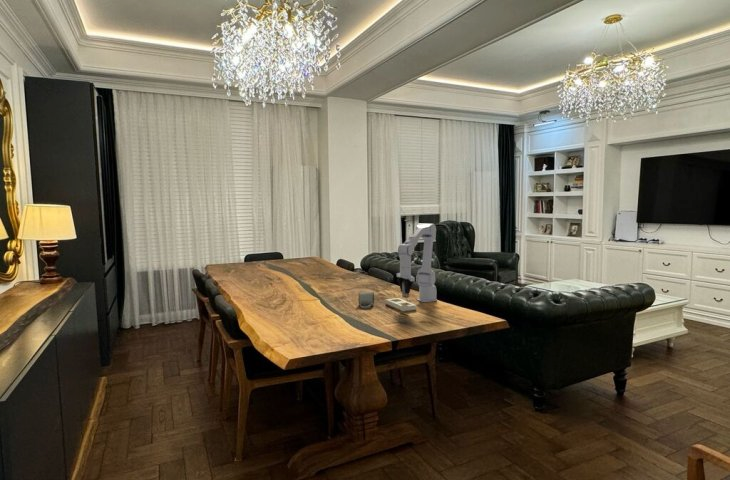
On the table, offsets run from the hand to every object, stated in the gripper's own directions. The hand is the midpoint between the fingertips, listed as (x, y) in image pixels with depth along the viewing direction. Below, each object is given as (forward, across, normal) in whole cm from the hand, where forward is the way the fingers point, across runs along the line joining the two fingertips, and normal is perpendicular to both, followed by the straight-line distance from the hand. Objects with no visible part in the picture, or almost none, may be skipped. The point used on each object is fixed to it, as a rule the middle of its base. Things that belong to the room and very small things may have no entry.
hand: (405, 292), depth 221 cm
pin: (+2, 0, 0) cm, 2 cm away
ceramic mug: (+9, -16, -15) cm, 23 cm away
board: (+9, -4, 0) cm, 10 cm away
